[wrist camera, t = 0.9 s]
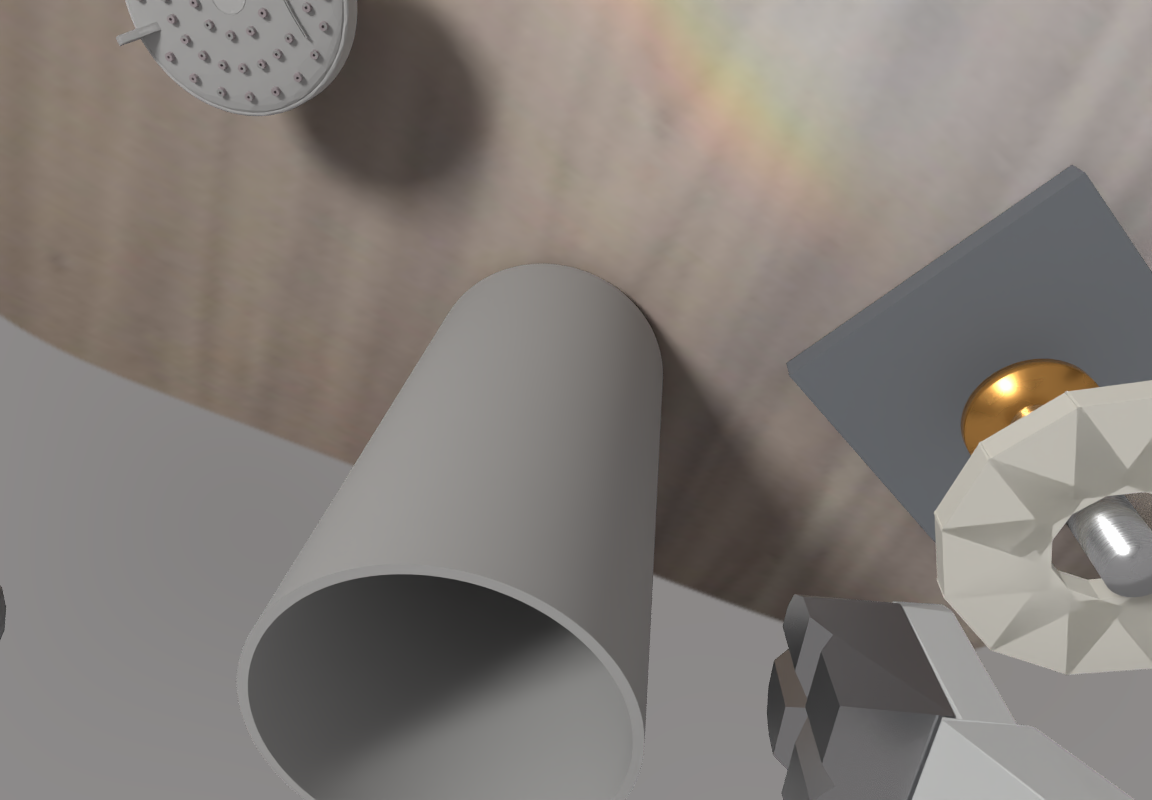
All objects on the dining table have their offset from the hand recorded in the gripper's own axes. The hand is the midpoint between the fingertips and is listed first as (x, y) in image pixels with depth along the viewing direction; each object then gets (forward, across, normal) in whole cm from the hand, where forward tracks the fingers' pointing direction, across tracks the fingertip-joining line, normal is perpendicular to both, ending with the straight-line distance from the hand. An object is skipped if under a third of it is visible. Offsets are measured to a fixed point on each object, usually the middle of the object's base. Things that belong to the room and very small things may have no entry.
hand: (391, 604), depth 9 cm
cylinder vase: (+37, -1, +13) cm, 40 cm away
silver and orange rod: (+34, -24, +11) cm, 43 cm away
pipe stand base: (+35, -24, +10) cm, 44 cm away
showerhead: (+37, +13, -5) cm, 40 cm away
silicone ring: (+22, -24, +11) cm, 34 cm away
